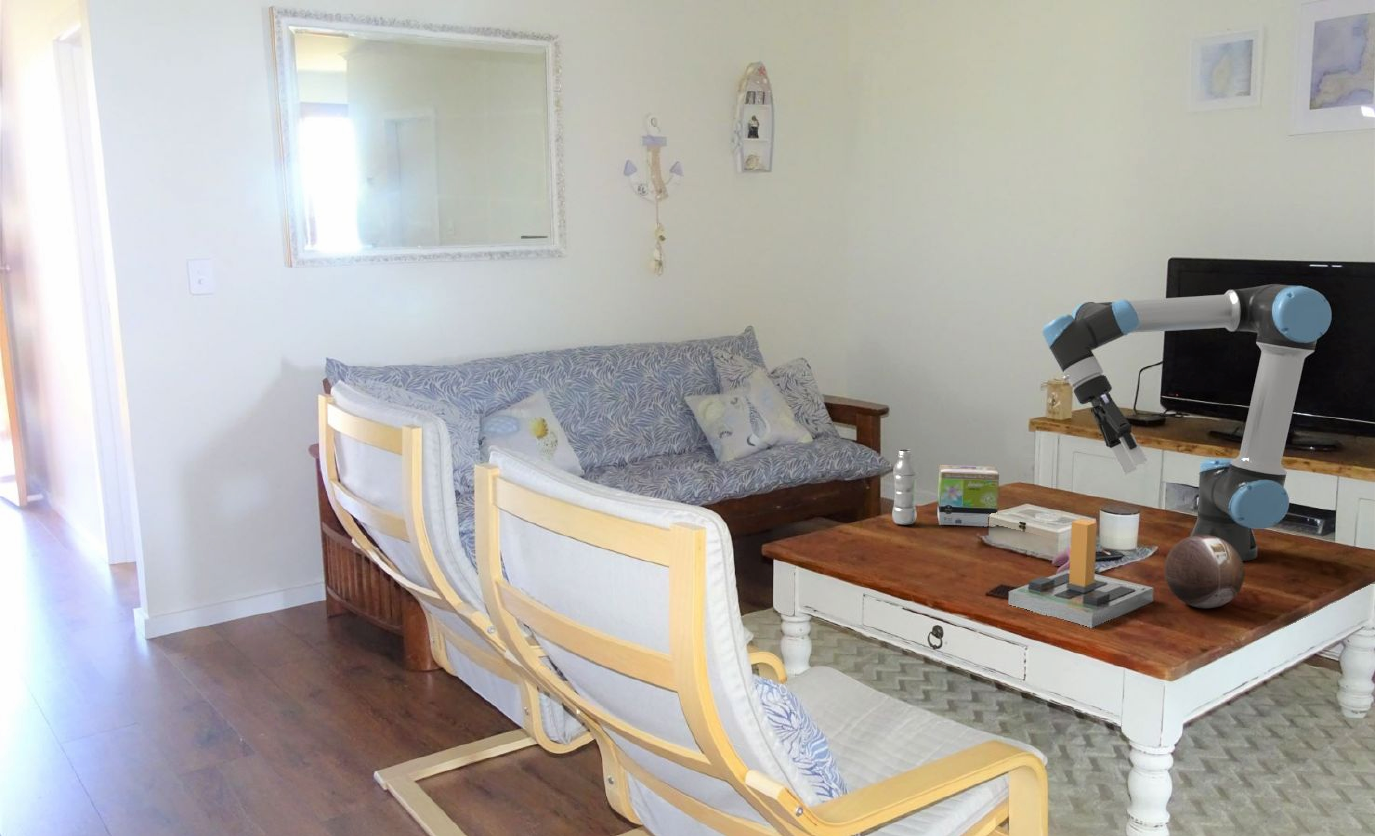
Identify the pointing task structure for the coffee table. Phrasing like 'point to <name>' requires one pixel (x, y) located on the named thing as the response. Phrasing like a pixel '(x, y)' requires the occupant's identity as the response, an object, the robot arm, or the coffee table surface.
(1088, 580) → the handle
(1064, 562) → the video game controller
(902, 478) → the plastic bottle
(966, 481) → the tea box
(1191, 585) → the wooden sphere
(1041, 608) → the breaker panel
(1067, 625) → the coffee table surface
